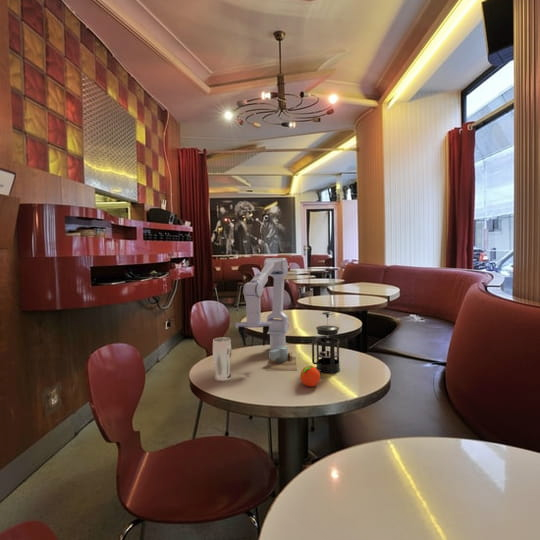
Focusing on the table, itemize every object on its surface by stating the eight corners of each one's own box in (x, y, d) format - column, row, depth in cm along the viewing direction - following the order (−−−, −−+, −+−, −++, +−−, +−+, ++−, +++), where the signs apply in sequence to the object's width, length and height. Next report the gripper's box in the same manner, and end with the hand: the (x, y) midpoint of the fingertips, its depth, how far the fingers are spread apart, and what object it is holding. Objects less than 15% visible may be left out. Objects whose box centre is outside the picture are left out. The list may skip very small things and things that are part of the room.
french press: (335, 364, 150) (334, 309, 148) (345, 372, 141) (345, 313, 139) (308, 367, 147) (307, 311, 146) (317, 375, 138) (316, 315, 137)
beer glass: (231, 381, 133) (229, 341, 132) (212, 382, 133) (210, 341, 132) (233, 375, 140) (232, 336, 139) (215, 375, 140) (214, 337, 139)
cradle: (268, 358, 160) (268, 352, 160) (295, 358, 159) (295, 352, 159) (266, 372, 142) (266, 365, 142) (296, 372, 141) (296, 365, 141)
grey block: (266, 363, 151) (266, 351, 150) (280, 357, 158) (280, 345, 158) (276, 366, 147) (276, 353, 147) (290, 359, 155) (290, 347, 155)
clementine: (310, 392, 122) (309, 371, 122) (294, 387, 127) (294, 367, 126) (324, 385, 128) (323, 365, 127) (308, 380, 133) (308, 361, 132)
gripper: (234, 314, 143) (235, 348, 144) (271, 313, 142) (271, 347, 143) (236, 310, 150) (237, 343, 151) (271, 310, 149) (272, 342, 150)
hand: (254, 345), depth 147 cm, fingers open, 7 cm apart
